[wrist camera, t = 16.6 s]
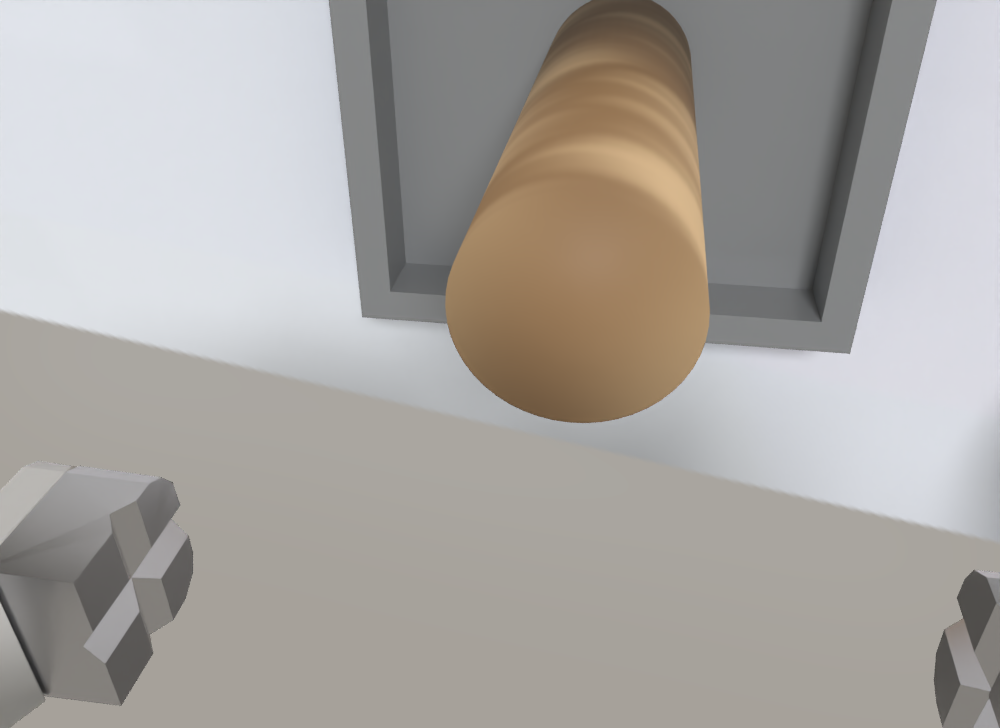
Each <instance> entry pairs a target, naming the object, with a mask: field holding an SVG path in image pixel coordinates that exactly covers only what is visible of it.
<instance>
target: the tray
mask: <svg viewBox="0 0 1000 728" xmlns="http://www.w3.org/2000/svg"><path fill="white" fill-rule="evenodd" d="M590 1H592V0H329V6H330V16H331V25H332V35H333V44H334V54H335V63H336V73H337V82H338V91H339V101H340V110H341V120H342V129H343V139H344V148H345V158H346V167H347V177H348V186H349V196H350V205H351V214H352V224H353V233H354V243H355V252H356V262H357V271H358V281H359V290H360V300H361V309H362V317H368V318H382V319H395V320H408V321H422V322H435V323H447V317H446V309H445V300H446V288H447V282H448V277H449V274H450V271H451V268H452V265H453V263H454V260H455V258H456V256H457V254H458V251H459V249H460V247H461V245H462V242H463V240H464V238H465V236H466V234H467V231H468V229H469V227H470V225H471V222H472V220H473V218H474V216H475V214H476V211H477V209H478V207H479V205H480V202H481V200H482V198H483V196H484V194H485V191H486V189H487V187H488V185H489V182H490V180H491V178H492V176H493V173H494V171H495V169H496V167H497V165H498V162H499V160H500V158H501V156H502V153H503V151H504V149H505V147H506V145H507V142H508V140H509V138H510V136H511V133H512V131H513V129H514V127H515V125H516V122H517V120H518V118H519V116H520V113H521V111H522V109H523V107H524V105H525V102H526V100H527V98H528V96H529V93H530V91H531V89H532V87H533V84H534V82H535V80H536V78H537V76H538V73H539V71H540V69H541V67H542V64H543V62H544V60H545V58H546V56H547V53H548V51H549V49H550V47H551V44H552V42H553V40H554V38H555V36H556V34H557V32H558V30H559V29H560V27H561V26H562V24H563V23H564V22H565V20H566V19H567V18H568V17H569V16H570V15H571V14H572V13H573V12H574V11H576V10H577V9H578V8H579V7H581V6H583V5H584V4H586V3H588V2H590ZM652 1H654V2H655V3H657V4H659V5H661V6H662V7H663V8H664V9H666V10H667V11H668V12H669V13H670V14H671V15H672V16H673V17H674V18H675V19H676V21H677V22H678V23H679V25H680V26H681V28H682V30H683V32H684V33H685V36H686V38H687V41H688V44H689V48H690V53H691V64H692V78H693V91H694V105H695V118H696V131H697V145H698V158H699V172H700V185H701V198H702V212H703V225H704V239H705V252H706V266H707V279H708V292H709V306H710V317H709V328H708V333H707V337H706V342H705V343H715V344H728V345H741V346H755V347H768V348H781V349H795V350H808V351H821V352H835V353H848V354H850V351H851V347H852V343H853V339H854V335H855V331H856V327H857V323H858V319H859V314H860V310H861V306H862V302H863V298H864V294H865V290H866V286H867V282H868V278H869V274H870V270H871V266H872V262H873V258H874V253H875V249H876V245H877V241H878V237H879V233H880V229H881V225H882V221H883V217H884V213H885V209H886V205H887V201H888V196H889V192H890V188H891V184H892V180H893V176H894V172H895V168H896V164H897V160H898V156H899V152H900V148H901V144H902V139H903V135H904V131H905V127H906V123H907V119H908V115H909V111H910V107H911V103H912V99H913V95H914V91H915V87H916V82H917V78H918V74H919V70H920V66H921V62H922V58H923V54H924V50H925V46H926V42H927V38H928V34H929V30H930V25H931V21H932V17H933V13H934V9H935V5H936V1H937V0H652Z"/></svg>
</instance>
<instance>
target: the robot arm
mask: <svg viewBox="0 0 1000 728" xmlns="http://www.w3.org/2000/svg"><path fill="white" fill-rule="evenodd" d="M179 506H180V503H179V500H178V497H177V494H176V491H175V488H174V485H173V482H171V481H168V480H166V479H164V478H162V477H155V476H148V475H141V474H133V473H127V472H120V471H112V470H105V469H98V468H91V467H84V466H78V467H76V466H69V465H62V464H56V463H49V462H42V461H37V462H34V463H32V464H29V465H27V466H24V467H23V468H22V469H20V470H19V472H17V474H16V475H15V476H14V477H13V478H12V479H11V480H10V481H9V482H8V483H7V484H6V485H5V486H4V487H3V488H2V489H1V490H0V728H10V727H11V726H13V725H14V724H15V723H17V722H18V721H19V720H21V719H22V718H23V717H24V716H26V715H27V714H29V713H30V712H31V711H32V710H34V709H35V708H37V707H38V706H39V705H41V704H42V703H43V702H45V697H44V696H47V697H55V698H63V699H71V700H79V701H87V702H95V703H103V704H112V705H119V706H121V705H122V704H123V702H124V700H125V699H126V697H127V695H128V694H129V692H130V691H131V689H132V687H133V686H134V684H135V682H136V681H137V679H138V677H139V676H140V674H141V672H142V671H143V669H144V668H145V666H146V664H147V663H148V661H149V659H150V658H151V656H152V655H153V649H152V644H151V638H150V634H152V633H153V632H155V631H156V630H158V629H160V628H161V627H163V626H165V625H166V624H168V623H169V622H171V621H172V620H174V618H175V616H176V615H177V613H178V611H179V609H180V608H181V606H182V604H183V602H184V601H185V599H186V596H187V592H188V588H189V585H190V581H191V578H192V574H193V551H192V547H191V544H190V539H189V536H188V535H187V534H186V533H185V532H184V531H183V530H182V529H181V528H180V527H179V526H178V525H177V524H176V523H175V522H174V521H173V520H172V519H171V518H172V517H173V515H174V514H175V512H176V511H177V509H178V508H179ZM957 599H958V602H959V606H960V609H961V612H962V615H963V619H961V620H959V621H958V622H956V623H955V624H953V625H951V626H949V627H948V628H946V629H945V630H944V632H943V635H942V638H941V641H940V644H939V647H938V650H937V653H936V663H935V675H934V685H935V694H936V703H937V707H938V711H939V715H940V719H941V723H942V727H943V728H1000V573H999V572H990V571H980V570H974V571H973V572H972V573H971V574H970V575H969V576H968V577H967V578H966V579H965V580H964V582H963V585H962V587H961V590H960V592H959V594H958V597H957Z"/></svg>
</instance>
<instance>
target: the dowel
mask: <svg viewBox="0 0 1000 728" xmlns="http://www.w3.org/2000/svg"><path fill="white" fill-rule="evenodd" d="M445 309H446V317H447V323H448V327H449V331H450V335H451V338H452V340H453V342H454V345H455V347H456V349H457V351H458V353H459V355H460V356H461V358H462V360H463V362H464V363H465V364H466V366H467V367H468V368H469V370H470V371H471V372H472V374H473V375H474V376H475V377H476V378H477V379H478V380H479V381H480V382H481V383H482V384H483V385H484V386H485V387H486V388H488V389H489V390H490V391H491V392H493V393H494V394H495V395H496V396H498V397H500V398H501V399H503V400H504V401H506V402H507V403H509V404H511V405H513V406H515V407H517V408H519V409H521V410H523V411H526V412H528V413H531V414H534V415H537V416H540V417H544V418H548V419H552V420H557V421H564V422H574V423H592V422H603V421H609V420H615V419H619V418H622V417H626V416H629V415H633V414H635V413H637V412H640V411H642V410H644V409H647V408H648V407H650V406H652V405H654V404H655V403H657V402H659V401H660V400H662V399H663V398H664V397H666V396H667V395H668V394H670V393H671V392H672V391H673V390H674V389H675V388H677V387H678V386H679V385H680V384H681V383H682V382H683V381H684V379H685V378H686V377H687V375H688V374H689V373H690V372H691V370H692V369H693V367H694V366H695V364H696V362H697V360H698V358H699V357H700V355H701V352H702V349H703V347H704V344H705V342H706V337H707V333H708V328H709V317H710V306H709V292H708V279H707V266H706V252H705V239H704V225H703V212H702V198H701V185H700V172H699V158H698V145H697V131H696V118H695V105H694V91H693V78H692V64H691V53H690V48H689V44H688V41H687V38H686V36H685V33H684V32H683V30H682V28H681V26H680V25H679V23H678V22H677V21H676V19H675V18H674V17H673V16H672V15H671V14H670V13H669V12H668V11H667V10H666V9H664V8H663V7H662V6H661V5H659V4H657V3H655V2H654V1H652V0H592V1H590V2H588V3H586V4H584V5H583V6H581V7H579V8H578V9H577V10H576V11H574V12H573V13H572V14H571V15H570V16H569V17H568V18H567V19H566V20H565V22H564V23H563V24H562V26H561V27H560V29H559V30H558V32H557V34H556V36H555V38H554V40H553V42H552V44H551V47H550V49H549V51H548V53H547V56H546V58H545V60H544V62H543V64H542V67H541V69H540V71H539V73H538V76H537V78H536V80H535V82H534V84H533V87H532V89H531V91H530V93H529V96H528V98H527V100H526V102H525V105H524V107H523V109H522V111H521V113H520V116H519V118H518V120H517V122H516V125H515V127H514V129H513V131H512V133H511V136H510V138H509V140H508V142H507V145H506V147H505V149H504V151H503V153H502V156H501V158H500V160H499V162H498V165H497V167H496V169H495V171H494V173H493V176H492V178H491V180H490V182H489V185H488V187H487V189H486V191H485V194H484V196H483V198H482V200H481V202H480V205H479V207H478V209H477V211H476V214H475V216H474V218H473V220H472V222H471V225H470V227H469V229H468V231H467V234H466V236H465V238H464V240H463V242H462V245H461V247H460V249H459V251H458V254H457V256H456V258H455V260H454V263H453V265H452V268H451V271H450V274H449V277H448V282H447V288H446V300H445Z"/></svg>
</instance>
